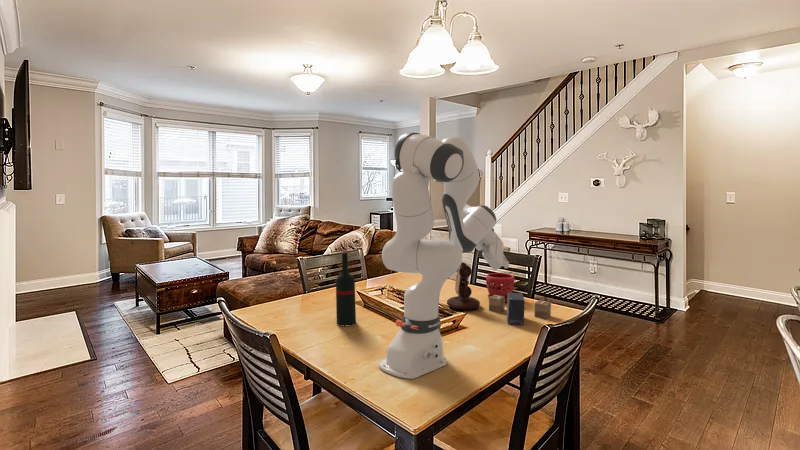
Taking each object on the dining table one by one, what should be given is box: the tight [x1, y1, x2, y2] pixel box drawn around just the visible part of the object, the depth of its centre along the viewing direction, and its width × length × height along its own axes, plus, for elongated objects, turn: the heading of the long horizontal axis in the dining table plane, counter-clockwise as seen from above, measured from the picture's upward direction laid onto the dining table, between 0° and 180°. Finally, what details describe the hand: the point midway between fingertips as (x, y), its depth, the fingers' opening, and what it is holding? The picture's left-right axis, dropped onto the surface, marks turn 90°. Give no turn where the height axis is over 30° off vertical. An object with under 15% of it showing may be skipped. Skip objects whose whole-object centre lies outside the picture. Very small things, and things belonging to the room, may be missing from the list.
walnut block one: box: [534, 299, 552, 320], centre depth 174 cm, size 5×5×6 cm
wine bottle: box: [335, 249, 357, 327], centre depth 168 cm, size 8×10×30 cm
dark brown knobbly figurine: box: [446, 261, 481, 311], centre depth 187 cm, size 15×15×20 cm
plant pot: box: [485, 272, 515, 303], centre depth 199 cm, size 13×13×12 cm
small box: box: [506, 292, 526, 326], centre depth 169 cm, size 11×6×10 cm, turn 168°
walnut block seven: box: [488, 295, 506, 313], centre depth 183 cm, size 5×5×6 cm
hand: (507, 266), depth 157 cm, fingers closed
